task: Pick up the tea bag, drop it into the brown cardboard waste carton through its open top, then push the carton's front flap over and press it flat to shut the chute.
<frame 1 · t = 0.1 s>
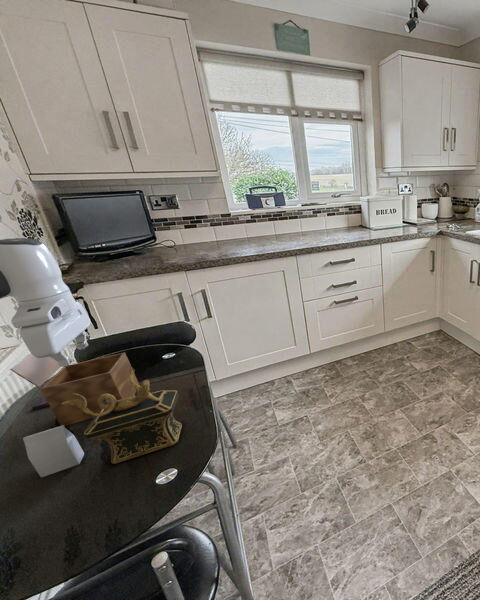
hand: (75, 356, 83), 21 cm above the table, tool pointing down, fingers open, 8 cm apart
chocolate bar: (77, 392, 106), on the table
flap: (38, 366, 89), point 16 cm above the table, hinge at 115.0°
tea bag: (64, 465, 77), on the table
decorative box: (142, 446, 81), on the table
carton: (104, 404, 99), on the table
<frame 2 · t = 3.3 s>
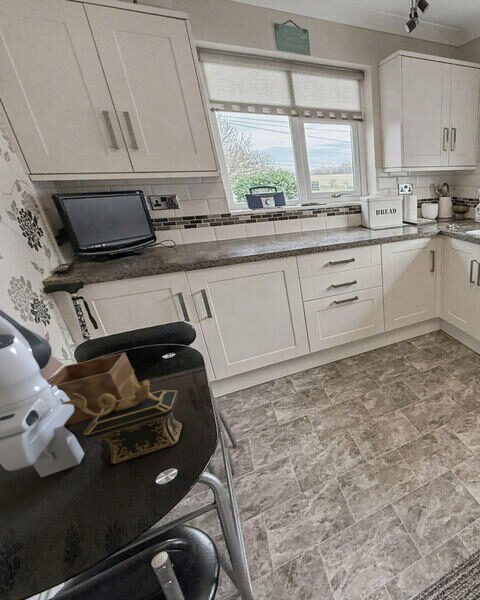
hand: (56, 453, 76), 4 cm above the table, tool pointing down, fingers closed on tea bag, 4 cm apart
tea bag: (64, 465, 77), on the table, touching gripper
everything else where it was.
when the fingers open (17 cm above the table, at t = 8.8 s): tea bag drops 13 cm, resting on carton.
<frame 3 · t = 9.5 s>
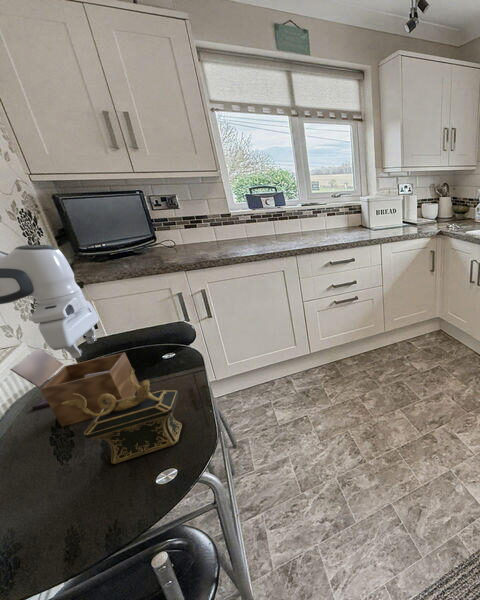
hand: (85, 349, 93), 18 cm above the table, tool pointing down, fingers open, 8 cm apart
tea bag: (111, 401, 99), resting on carton
everything else where it was.
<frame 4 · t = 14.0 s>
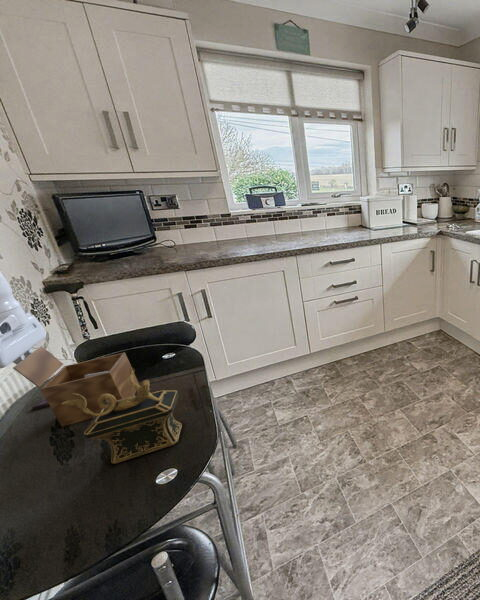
hand: (29, 367, 89), 17 cm above the table, tool pointing down, fingers closed, pressing on flap
flap: (40, 365, 89), point 17 cm above the table, hinge at 109.6°, touching gripper
everything else where it was.
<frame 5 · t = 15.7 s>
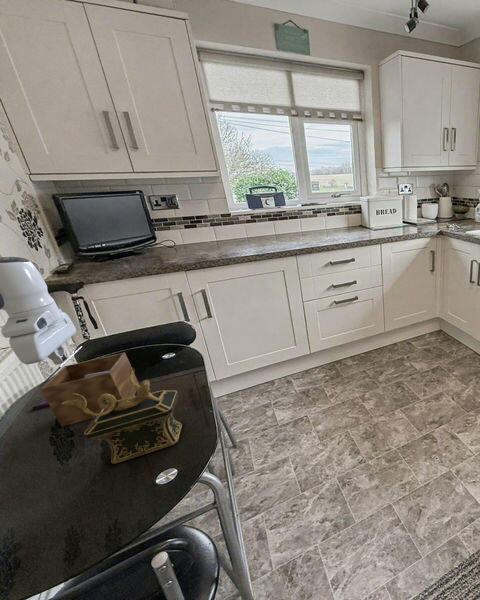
hand: (61, 361, 91), 16 cm above the table, tool pointing down, fingers closed
flap: (62, 365, 91), point 15 cm above the table, hinge at 36.5°
everything else where it was.
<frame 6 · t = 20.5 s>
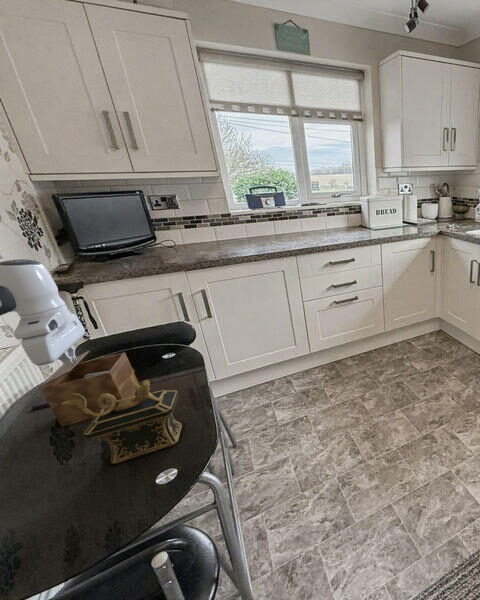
hand: (71, 363, 92), 15 cm above the table, tool pointing down, fingers closed
flap: (66, 367, 92), point 14 cm above the table, hinge at 19.4°
everything else where it was.
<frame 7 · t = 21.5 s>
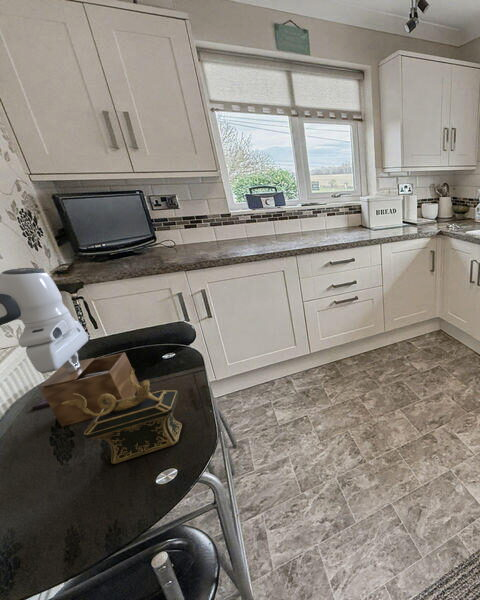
hand: (74, 369, 93), 13 cm above the table, tool pointing down, fingers closed, pressing on flap
flap: (69, 371, 93), point 13 cm above the table, hinge at -1.7°, touching gripper
everything else where it was.
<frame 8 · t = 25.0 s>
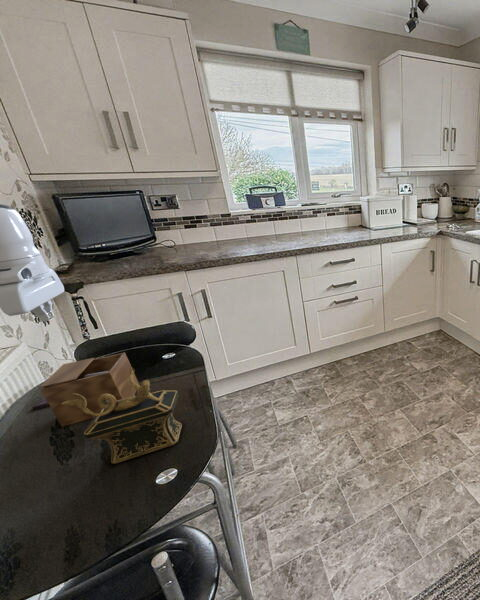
hand: (48, 319, 87), 29 cm above the table, tool pointing down, fingers closed
flap: (69, 371, 93), point 13 cm above the table, hinge at -1.1°
everything else where it was.
at the end: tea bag inside the target area in the carton (2.0 cm from its centre), point 0.3 cm above the carton's base; flap at -1° (first picture: +115°) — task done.
